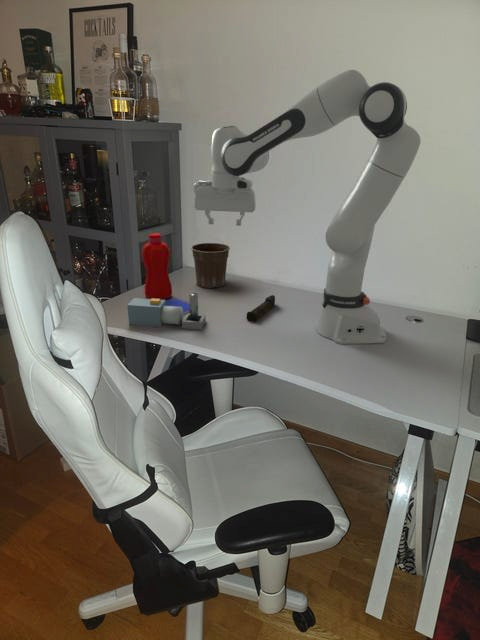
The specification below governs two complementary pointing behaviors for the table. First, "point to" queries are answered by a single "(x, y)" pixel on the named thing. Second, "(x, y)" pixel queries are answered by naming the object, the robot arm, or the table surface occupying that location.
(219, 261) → the plant pot
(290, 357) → the table surface
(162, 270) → the water bottle
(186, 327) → the handheld vacuum
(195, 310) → the grey peg
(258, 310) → the hand tool
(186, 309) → the hard drive
